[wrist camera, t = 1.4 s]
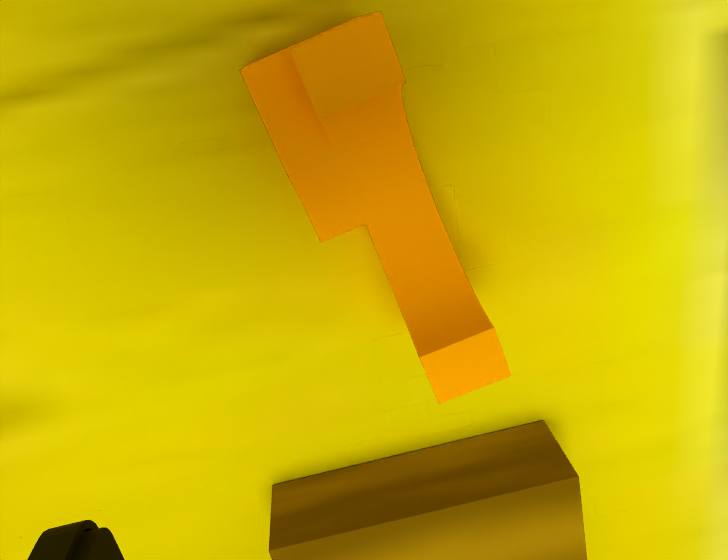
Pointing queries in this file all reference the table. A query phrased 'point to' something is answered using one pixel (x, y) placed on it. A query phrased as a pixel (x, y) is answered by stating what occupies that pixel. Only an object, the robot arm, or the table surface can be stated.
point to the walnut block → (438, 504)
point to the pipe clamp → (375, 187)
